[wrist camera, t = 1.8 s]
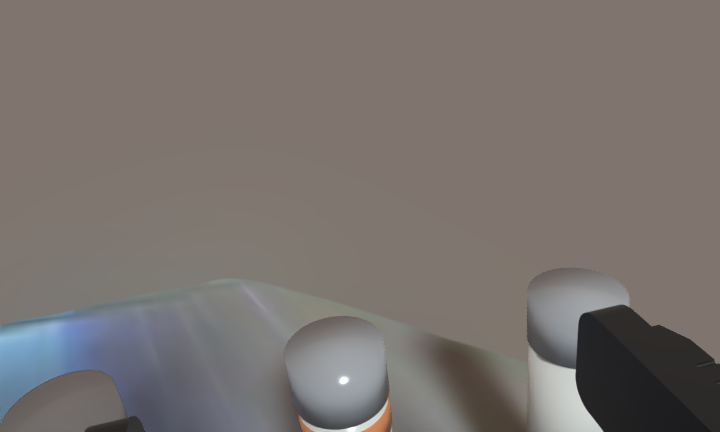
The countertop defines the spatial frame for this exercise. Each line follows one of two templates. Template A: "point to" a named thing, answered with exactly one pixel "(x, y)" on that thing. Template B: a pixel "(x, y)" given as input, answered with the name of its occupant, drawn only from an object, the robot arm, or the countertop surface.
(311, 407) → the fuse marked
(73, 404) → the fuse
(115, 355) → the countertop surface
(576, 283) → the fuse
